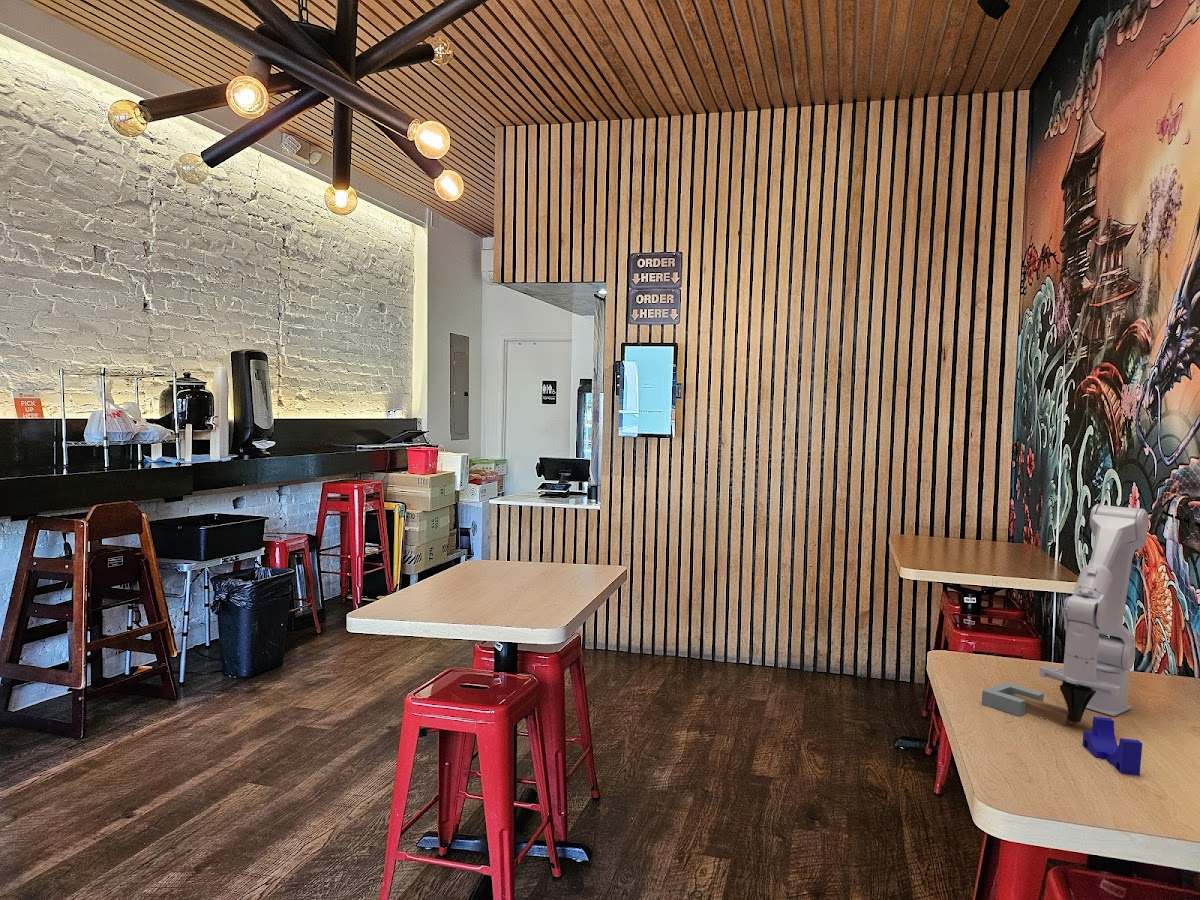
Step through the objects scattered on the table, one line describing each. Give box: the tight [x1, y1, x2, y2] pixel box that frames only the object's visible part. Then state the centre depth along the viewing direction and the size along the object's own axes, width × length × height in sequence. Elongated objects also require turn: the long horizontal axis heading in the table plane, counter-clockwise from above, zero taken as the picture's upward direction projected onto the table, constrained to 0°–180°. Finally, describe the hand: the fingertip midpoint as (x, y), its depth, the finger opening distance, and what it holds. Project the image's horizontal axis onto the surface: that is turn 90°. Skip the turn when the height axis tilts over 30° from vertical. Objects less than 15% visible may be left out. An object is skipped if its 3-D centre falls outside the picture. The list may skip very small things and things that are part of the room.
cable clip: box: [1082, 716, 1143, 777], centre depth 148 cm, size 12×4×6 cm, turn 171°
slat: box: [1011, 694, 1075, 727], centre depth 170 cm, size 4×12×2 cm, turn 37°
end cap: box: [981, 682, 1045, 717], centre depth 175 cm, size 11×8×3 cm
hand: (1075, 720), depth 165 cm, fingers closed
